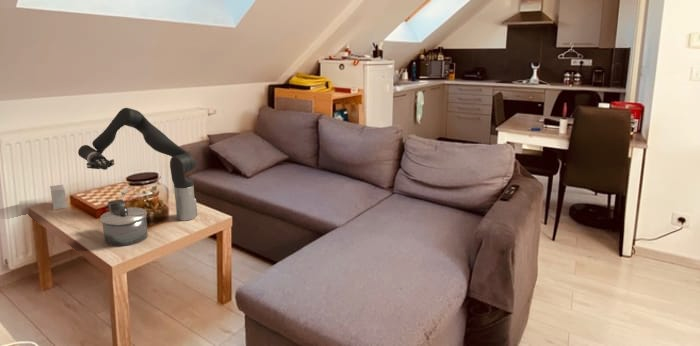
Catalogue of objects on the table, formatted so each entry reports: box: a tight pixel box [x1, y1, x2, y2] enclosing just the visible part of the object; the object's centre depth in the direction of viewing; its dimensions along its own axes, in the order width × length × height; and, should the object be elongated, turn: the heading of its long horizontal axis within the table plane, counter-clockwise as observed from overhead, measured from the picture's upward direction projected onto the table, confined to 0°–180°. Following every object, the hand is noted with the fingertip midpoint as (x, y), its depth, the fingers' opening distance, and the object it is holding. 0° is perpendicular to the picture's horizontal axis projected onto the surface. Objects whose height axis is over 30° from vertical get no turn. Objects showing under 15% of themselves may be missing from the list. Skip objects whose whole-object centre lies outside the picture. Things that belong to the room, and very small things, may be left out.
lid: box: [99, 199, 147, 225], centre depth 212 cm, size 19×24×4 cm
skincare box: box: [49, 184, 68, 210], centre depth 250 cm, size 10×6×10 cm, turn 35°
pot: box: [101, 216, 149, 247], centre depth 212 cm, size 18×18×10 cm
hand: (105, 167), depth 224 cm, fingers closed
